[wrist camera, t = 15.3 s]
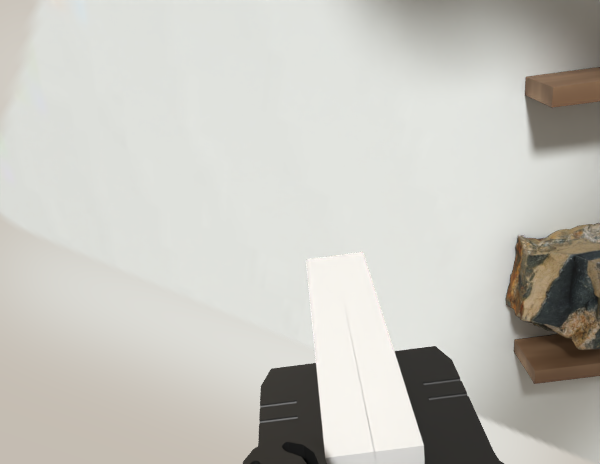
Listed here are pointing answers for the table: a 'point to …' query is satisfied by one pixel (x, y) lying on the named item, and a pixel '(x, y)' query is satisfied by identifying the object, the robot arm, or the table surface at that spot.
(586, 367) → the box
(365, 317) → the robot arm
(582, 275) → the rock
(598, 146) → the table surface
